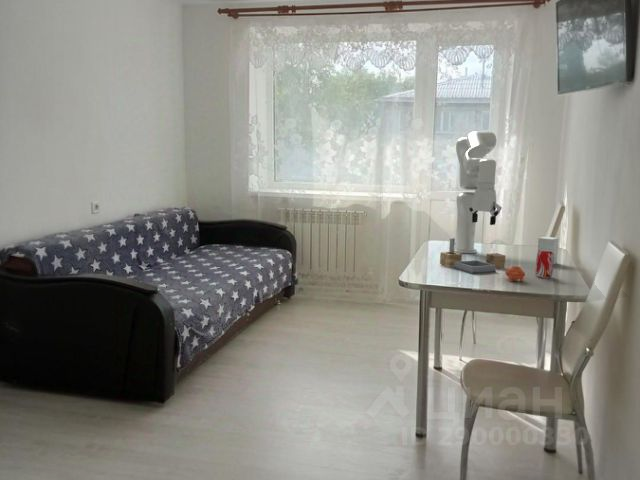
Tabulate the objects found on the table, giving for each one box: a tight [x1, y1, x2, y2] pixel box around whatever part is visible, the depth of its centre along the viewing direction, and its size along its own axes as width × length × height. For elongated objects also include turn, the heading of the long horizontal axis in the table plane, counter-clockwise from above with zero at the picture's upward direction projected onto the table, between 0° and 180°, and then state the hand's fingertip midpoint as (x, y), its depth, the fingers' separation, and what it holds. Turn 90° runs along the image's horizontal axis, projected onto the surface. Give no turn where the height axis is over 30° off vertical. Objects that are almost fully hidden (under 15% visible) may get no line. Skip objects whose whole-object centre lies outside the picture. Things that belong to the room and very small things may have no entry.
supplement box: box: [537, 236, 560, 265], centre depth 286 cm, size 7×7×13 cm
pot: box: [505, 265, 526, 283], centre depth 247 cm, size 8×8×7 cm
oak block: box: [439, 251, 463, 268], centre depth 277 cm, size 7×7×6 cm
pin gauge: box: [448, 237, 456, 254], centre depth 276 cm, size 2×2×12 cm
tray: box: [453, 259, 497, 275], centre depth 267 cm, size 13×13×3 cm
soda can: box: [534, 249, 554, 279], centre depth 255 cm, size 7×7×12 cm
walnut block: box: [485, 252, 506, 270], centre depth 275 cm, size 6×6×6 cm
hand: (483, 223), depth 273 cm, fingers open, 9 cm apart
